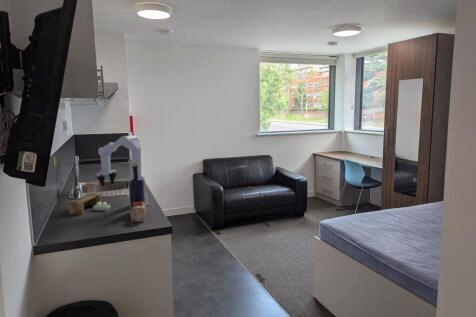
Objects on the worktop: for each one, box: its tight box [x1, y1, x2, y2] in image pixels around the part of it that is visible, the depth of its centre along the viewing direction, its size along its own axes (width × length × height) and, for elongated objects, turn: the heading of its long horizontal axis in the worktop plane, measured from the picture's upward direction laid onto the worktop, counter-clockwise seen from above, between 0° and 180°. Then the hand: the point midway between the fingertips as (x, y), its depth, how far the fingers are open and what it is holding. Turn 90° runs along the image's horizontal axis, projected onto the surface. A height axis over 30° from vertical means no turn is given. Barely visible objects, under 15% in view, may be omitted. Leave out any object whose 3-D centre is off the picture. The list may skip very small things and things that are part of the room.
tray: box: [92, 201, 112, 212], centre depth 206 cm, size 9×5×4 cm, turn 80°
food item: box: [129, 202, 147, 223], centre depth 187 cm, size 14×8×10 cm, turn 13°
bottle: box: [128, 161, 145, 210], centre depth 198 cm, size 9×9×30 cm
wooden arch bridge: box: [68, 193, 103, 215], centre depth 208 cm, size 9×19×7 cm, turn 170°
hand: (107, 185), depth 228 cm, fingers open, 7 cm apart
